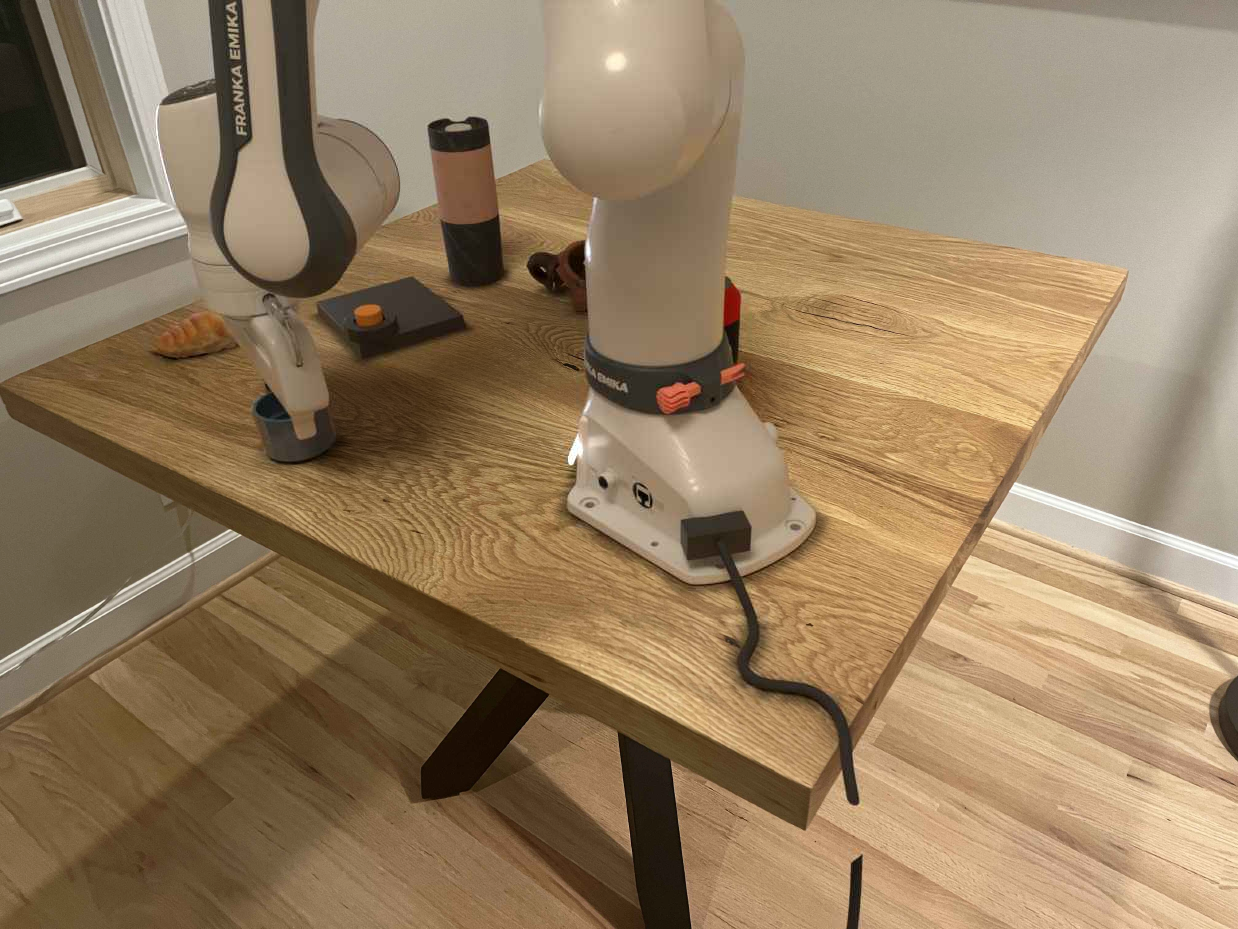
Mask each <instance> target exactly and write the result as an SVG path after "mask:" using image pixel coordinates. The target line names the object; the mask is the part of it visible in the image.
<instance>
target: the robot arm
mask: <svg viewBox="0 0 1238 929" xmlns="http://www.w3.org/2000/svg"><path fill="white" fill-rule="evenodd" d="M538 1H539V15H540V27H541V28H540V29H541V40H542V48H543V49H542V50H543V65H544V66H543V67H544V71H543V72H544V73H543V86H542V90H541V96H540V100H539V101H540V102H539V109H538V110H539V111H538V120H539V123H538V124H539V130H540V135H541V140H542V143H543V146H544V148H545V151H546V154H547V156H548V157H549V160H550V161H551V163H552V164H553V166H554V168H555V169H556V171H557V172H558V173H559V174H560V175H561V176H562V177H563V178H564V180H566V181H567V182H568V183H569V184H570V185H572V186H573V187H574V188H576V189H577V190H579V191H580V192H582V193H584V194H585V195H588V196H591V197H593V200H592V207H591V213H590V219H589V224H588V228H587V232H586V235H585V240H586V241H585V260H584V264H585V270H586V281H585V285H586V286H585V287H586V288H587V306H588V308H587V320H588V330H587V332H586V333H585V337H584V348H583V364H584V367H585V368H584V369H585V378H586V381H587V383H588V385H589V389H588V393H587V396H586V400H585V403H584V406H583V409H582V412H581V414H580V417H579V420H578V425H577V426H578V427H577V436H576V438H575V440H574V443H573V445H572V447H571V450H570V452H569V455H568V464H569V465H571V466H573V464H574V463H575V460H576V482H575V484H574V486H572V488H571V490H570V492H569V493H568V495H567V498H566V509H567V512H569V513H570V514H572V515H573V516H575V517H576V518H578V519H580V520H581V521H583V522H585V523H586V524H588V525H589V526H592V528H594V529H596V530H598V531H600V532H601V533H602V534H605V535H606V536H608V537H609V538H611V539H612V540H614V541H616V542H618V543H620V544H621V545H622V546H624V547H626V548H628V549H629V550H631V551H632V552H634V553H635V554H637V555H639V556H640V557H642V558H644V559H645V560H647V561H649V562H650V563H652V564H653V565H656V567H658V568H660V569H662V570H664V571H666V572H667V573H669V574H670V575H671V576H674V577H675V578H677V579H679V580H680V581H682V582H684V583H687V584H689V585H708V584H709V585H711V584H716V583H717V584H718V583H724V582H727V581H731V584H732V585H733V587H734V588H733V589H734V590H735V593H736V596H737V598H738V600H739V602H740V605H741V607H742V609H743V613H744V615H745V617H746V621H747V626H748V633H747V638H746V641H745V642H744V644H743V646H742V648H741V649H740V651H739V652H738V655H737V658H736V666H737V669H738V671H739V673H740V675H741V676H742V677H743V678H744V679H745V681H747V682H748V683H750V684H751V685H753V686H754V687H758V688H761V689H763V690H764V689H765V690H770V691H775V692H785V693H793V694H799V695H804V696H807V697H810V698H812V699H813V700H816V701H817V702H818V703H819V704H820V705H822V706H823V707H824V708H825V710H827V712H828V713H829V715H830V716H831V717H832V718H833V721H834V723H835V725H836V729H837V734H838V742H839V754H840V755H839V756H840V765H841V773H842V780H843V784H844V790H845V796H846V799H847V801H848V804H850V805H852V806H854V807H855V806H858V805H860V794H859V789H858V784H857V779H856V778H857V777H856V773H855V765H854V757H853V756H854V754H853V744H852V737H851V731H850V727H849V724H848V720H847V718H846V716H845V714H844V712H843V710H842V709H841V708H840V706H839V705H838V703H837V702H836V701H835V700H834V699H833V698H832V697H831V696H830V695H829V694H827V693H826V691H824V690H822V689H821V688H819V687H817V686H814V685H812V684H809V683H805V682H804V683H803V682H799V681H792V680H783V679H774V678H769V677H764V676H761V675H759V674H758V673H755V672H754V671H753V670H752V669H751V668H750V666H749V663H748V661H749V658H750V655H751V654H752V652H753V651H754V649H755V647H756V646H757V642H758V640H759V635H760V628H759V621H758V617H757V612H756V609H755V607H754V604H753V602H752V600H751V598H750V596H749V592H748V591H747V589H746V586H745V583H744V581H743V579H742V577H744V576H747V575H749V574H752V573H754V572H757V571H759V570H761V569H763V568H765V567H767V566H769V565H771V564H773V563H775V562H777V561H779V560H780V559H782V558H784V557H786V556H787V555H789V554H791V553H792V552H793V551H795V550H796V549H797V548H799V547H800V546H801V545H802V544H804V542H806V540H807V539H808V538H809V537H810V535H811V534H812V532H813V530H814V528H815V527H816V523H817V513H816V511H815V510H814V508H813V507H812V506H811V505H810V504H809V503H808V502H807V501H806V500H805V499H804V498H803V497H802V496H801V495H800V494H799V493H798V492H797V491H796V490H795V488H793V487H792V486H791V485H790V475H789V467H788V463H787V458H786V456H785V455H784V453H783V450H781V448H780V447H779V446H778V444H779V441H780V436H779V432H778V429H777V427H776V426H775V424H774V423H772V422H770V421H766V422H762V420H761V419H760V417H759V416H758V415H757V413H756V412H755V410H754V409H753V407H752V406H751V405H750V402H749V401H748V400H747V399H746V398H745V396H744V394H743V393H742V391H741V389H739V387H738V384H737V385H736V382H737V383H738V379H740V378H741V377H744V376H745V373H744V372H740V371H741V370H743V369H744V368H745V367H746V364H745V363H744V362H742V363H738V365H736V366H734V363H733V358H732V352H731V347H730V345H729V342H728V338H727V334H726V332H725V330H724V329H723V318H724V292H725V276H726V265H727V246H728V234H729V225H730V218H731V211H732V202H733V195H734V186H735V178H736V170H737V162H738V152H739V151H738V150H739V143H740V134H741V133H740V132H741V121H742V110H743V100H744V99H743V98H744V88H745V86H744V85H745V73H746V54H745V47H744V42H743V39H742V36H741V35H742V34H741V33H740V30H739V28H738V25H737V23H736V22H735V19H733V17H732V15H731V14H730V13H729V12H728V11H727V9H725V7H723V5H721V4H720V3H718V2H717V1H716V0H538ZM320 2H321V0H207V3H208V15H209V27H210V28H209V29H210V39H211V50H212V62H213V72H214V73H213V74H214V78H210V79H205V80H202V81H199V82H198V83H194V84H191V85H186V86H184V87H182V88H180V89H177V90H174V91H173V92H171V93H170V94H168V95H167V96H165V97H164V98H163V99H162V100H161V101H160V103H159V105H158V106H157V108H156V112H155V113H156V115H155V127H156V137H157V143H158V149H159V153H160V158H161V162H162V166H163V170H164V173H165V178H166V181H167V185H168V188H169V191H170V196H171V198H172V201H173V204H174V207H175V208H176V210H177V211H178V213H179V215H180V216H181V218H182V220H183V221H184V224H185V227H186V229H187V233H188V234H187V235H188V236H187V237H188V242H187V244H188V245H187V246H188V247H187V248H188V253H189V256H190V259H191V264H192V267H193V269H194V273H195V276H196V279H197V282H198V286H199V290H200V292H201V295H202V299H203V302H204V305H205V307H206V309H207V310H208V311H212V312H214V313H216V314H220V315H222V317H223V319H224V321H225V324H226V326H227V328H228V330H229V332H230V333H231V335H232V337H233V338H234V339H235V341H236V342H237V343H238V347H239V348H240V350H242V352H243V353H244V354H245V356H246V357H247V359H248V360H249V361H250V363H251V364H252V366H253V367H254V368H255V370H256V372H257V375H258V377H259V380H260V383H261V386H262V390H263V391H264V392H265V394H266V393H268V392H270V391H272V392H273V393H274V395H275V396H276V397H277V399H278V400H279V402H280V403H281V404H282V406H283V407H284V408H285V410H286V411H287V413H288V414H289V415H290V416H291V418H289V419H290V422H291V425H292V429H293V432H294V433H295V435H296V436H297V438H298V439H301V440H303V439H306V438H309V437H313V436H314V435H315V434H316V427H315V423H314V412H315V411H318V410H321V409H323V408H325V407H327V406H328V403H329V404H330V393H329V390H328V389H329V388H328V384H327V381H326V378H325V374H324V371H323V368H322V365H321V360H320V357H319V353H318V350H317V348H316V344H315V340H314V339H313V336H312V334H311V331H310V329H309V328H308V327H307V324H306V323H304V321H303V320H302V319H301V318H300V316H299V315H298V314H297V313H298V312H299V310H300V304H299V302H301V301H302V300H303V299H307V298H314V297H317V296H320V295H323V294H325V293H327V292H328V291H330V290H332V288H334V287H335V286H336V285H337V284H338V283H339V282H340V280H341V279H342V278H343V276H344V274H345V273H346V271H347V269H348V268H349V266H350V265H351V263H352V262H353V260H354V259H355V256H356V255H357V254H359V252H360V251H361V250H362V248H364V246H365V245H366V244H367V243H368V242H369V241H370V240H371V239H372V238H373V236H374V235H375V234H376V232H377V231H378V230H379V229H380V227H381V226H382V225H383V224H384V223H385V222H386V221H387V219H388V218H389V216H390V215H391V214H392V212H393V211H394V210H395V208H396V206H397V204H398V202H399V198H400V193H401V178H400V172H399V169H398V165H397V163H396V160H395V159H394V156H393V154H392V152H391V151H390V149H389V148H388V147H387V145H386V144H385V142H384V141H383V140H382V139H381V138H380V137H379V136H378V135H377V134H376V133H374V132H373V131H372V130H371V129H369V128H368V127H366V126H364V125H362V124H360V123H359V122H356V121H353V120H349V119H344V118H332V117H328V116H325V115H321V114H318V107H317V106H318V105H317V104H318V103H317V84H316V64H315V61H316V60H315V27H316V26H315V25H316V18H317V15H318V14H317V13H318V10H319V5H320ZM739 372H740V373H739ZM736 373H737V374H736ZM863 855H864V854H860V855H859V856H858V857H857V858H855V859H854V860H852V861H851V862H850V871H849V872H850V874H849V875H850V876H849V896H848V907H847V908H848V909H847V910H848V911H847V920H846V928H845V929H859V923H860V913H861V904H862V903H861V902H862V887H863V886H862V884H863V862H864V861H863V860H864V856H863Z"/></svg>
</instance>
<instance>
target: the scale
mask: <svg viewBox="0 0 1238 929" xmlns="http://www.w3.org/2000/svg"><path fill="white" fill-rule="evenodd" d="M315 304H316V309H317V313H318V317H320V318H321V319H322V320H323V322H325V323H326V324H327V325H328V326H329V327H330V328H331V329H332V330H333V332H335V334H336V335H337V336H338V337H339V338H340V339H341V340H342V341H343V342H344V343H345V344H346V345H347V346H348V347H349V348H350V349H351V350H352V351H353V352H354V353H355V354H356V355H357V356H358V357H359V359H361V360H362V361H363V360H367V359H371V358H373V357H378V356H380V355H384V354H387V353H391V352H393V351H397V350H400V349H403V348H406V347H410V346H414V345H416V344H420V343H423V342H427V341H429V340H433V339H436V338H439V337H443V336H445V335H450V334H453V333H457V332H460V331H462V330H465V329H466V327H465V320H464V319H465V318H464V315H463V313H461V312H460V311H459V310H457V309H456V308H455V307H453V306H452V305H451V304H449V303H448V302H447V301H446V300H444V299H443V298H442V297H440V296H439V295H437V294H436V293H435V292H434V291H433V290H431V289H429V287H427V286H426V285H425V284H424V283H422V282H421V281H420V280H418V279H417V278H415V277H414V276H413V275H412V276H408V277H404V278H400V279H397V280H393V281H389V282H386V283H382V284H378V285H375V286H370V287H367V288H363V289H360V290H355V291H352V292H351V291H350V292H349V293H344V294H342V295H341V294H340V295H337V296H333V297H329V298H325V299H322V300H318V301H315ZM364 305H378V306H380V308H381V311H382V316H383V321H382V322H381V323H379V324H376V325H373V326H359V325H357V323H356V318H355V313H354V311H355V309H357V308H358V307H360V306H364Z"/></svg>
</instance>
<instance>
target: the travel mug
mask: <svg viewBox="0 0 1238 929" xmlns="http://www.w3.org/2000/svg"><path fill="white" fill-rule="evenodd" d="M427 136H428V142H429V149H430V150H429V151H430V157H431V165H432V172H433V178H434V186H435V192H436V193H435V194H436V200H437V207H438V215H439V221H440V227H441V233H442V236H443V243H444V244H443V245H444V248H445V249H444V250H445V254H446V260H447V265H448V270H449V275H450V280H451V282H452V283H453V284H454V285H457V286H459V287H460V286H461V287H466V288H477V287H478V288H479V287H486V286H489V285H493V284H495V283H498V282H499V281H501V280H502V279H503V277H504V259H503V258H504V257H503V247H502V234H501V221H500V209H499V200H498V194H497V193H498V192H497V185H496V175H495V168H494V160H493V152H492V143H491V136H490V126H489V122H488V120H487V119H485V118H484V117H479V116H468V117H466V119H464V120H459V121H456V120H455V121H454V120H451V119H450V118H448V117H444V118H440V119H436V120H433V121H431V122H430V123H428V124H427Z"/></svg>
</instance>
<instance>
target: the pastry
mask: <svg viewBox="0 0 1238 929" xmlns="http://www.w3.org/2000/svg"><path fill="white" fill-rule="evenodd" d="M237 345H238V343H237V342H236V341H235V339H234V338H233V337H232V335H231V333H230V332H229V330H228V328H227V326H226V324H225V321H224V319H223V317H222V315H220V314H216V313H214V312H212V311H210V310H204V311H201V312H195V313H192V314H191V315H189V316H188V317H187V318H186V319H183V320H181V322H179V323H178V324H174V325H172V326H170V327H169V328H168V329H167V330H164V331H163V332H162V333H159V335H158V336H157V338H156V340H155V348H156V351H157V353H158V354H160V355H163V356H165V357H167V358H168V357H169V358H176V359H177V360H178V359H179V358H182V359H186V358H188V357H192V356H197V357H198V356H200V355H205V354H211V353H216V352H219V351H220V350H222V349H229V348H233V347H235V346H237ZM238 346H239V345H238Z"/></svg>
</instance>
